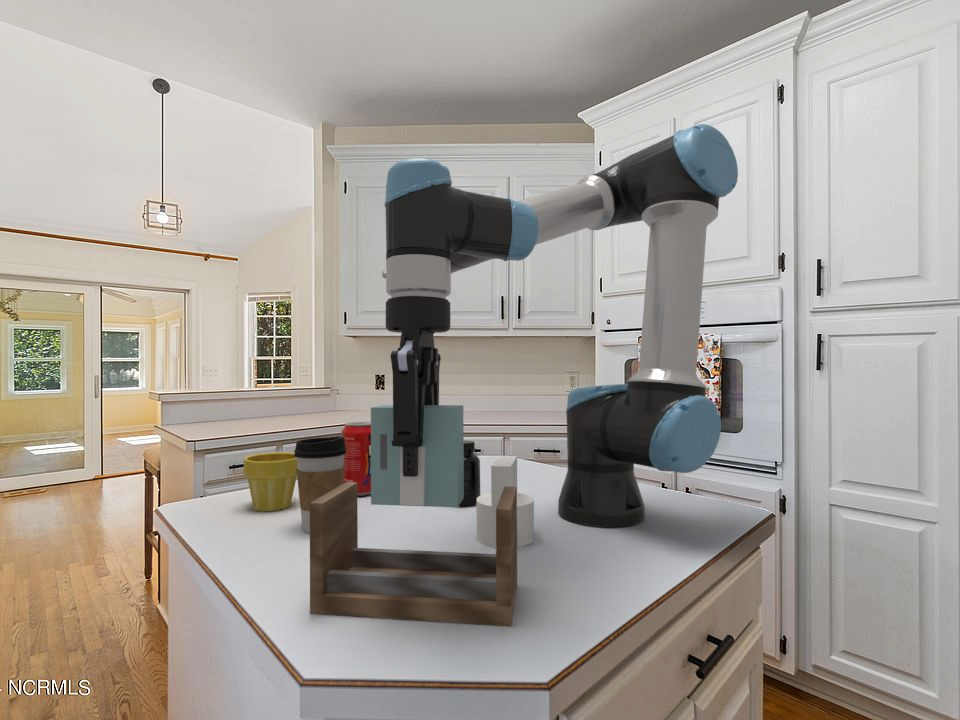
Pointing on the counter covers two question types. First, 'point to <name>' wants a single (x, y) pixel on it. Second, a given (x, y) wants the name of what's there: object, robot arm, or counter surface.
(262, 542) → the counter surface
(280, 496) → the plant pot
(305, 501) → the coffee cup
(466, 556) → the wooden book rack
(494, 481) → the cylinder with rectangular tab
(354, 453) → the soda can
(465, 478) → the supplement bottle
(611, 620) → the counter surface
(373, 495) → the door panel
